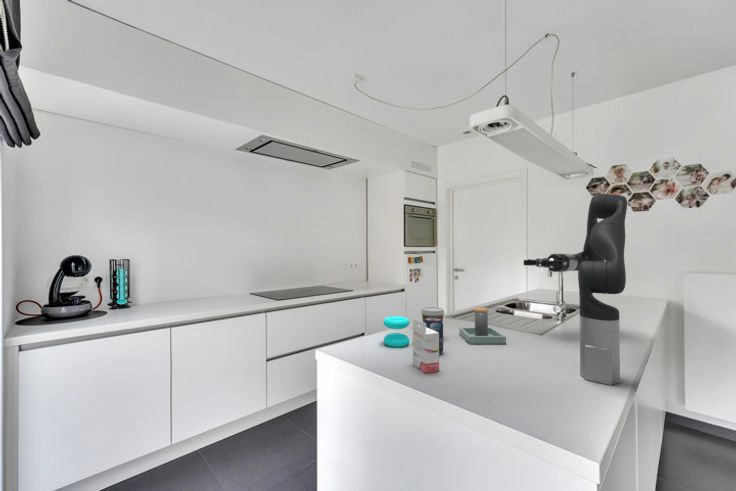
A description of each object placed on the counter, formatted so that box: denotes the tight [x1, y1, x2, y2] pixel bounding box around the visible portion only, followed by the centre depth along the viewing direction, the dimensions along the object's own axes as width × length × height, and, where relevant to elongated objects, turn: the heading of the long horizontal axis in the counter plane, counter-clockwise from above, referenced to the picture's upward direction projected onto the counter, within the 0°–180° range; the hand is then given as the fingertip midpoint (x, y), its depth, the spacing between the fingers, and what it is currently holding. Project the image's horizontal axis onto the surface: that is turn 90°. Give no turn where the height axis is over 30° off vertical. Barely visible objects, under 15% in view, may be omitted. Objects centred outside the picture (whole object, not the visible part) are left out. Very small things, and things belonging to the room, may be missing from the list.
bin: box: [458, 327, 507, 346], centre depth 129 cm, size 14×14×3 cm
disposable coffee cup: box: [420, 306, 446, 324], centre depth 131 cm, size 10×10×12 cm
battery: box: [474, 305, 489, 336], centre depth 129 cm, size 5×5×13 cm
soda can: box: [424, 317, 444, 356], centre depth 113 cm, size 7×7×12 cm
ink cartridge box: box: [412, 318, 440, 374], centre depth 99 cm, size 9×5×15 cm, turn 21°
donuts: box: [382, 315, 410, 348], centre depth 123 cm, size 10×10×10 cm
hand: (532, 263), depth 128 cm, fingers open, 8 cm apart
